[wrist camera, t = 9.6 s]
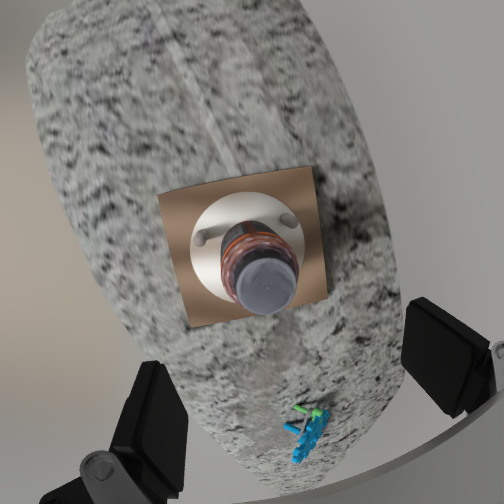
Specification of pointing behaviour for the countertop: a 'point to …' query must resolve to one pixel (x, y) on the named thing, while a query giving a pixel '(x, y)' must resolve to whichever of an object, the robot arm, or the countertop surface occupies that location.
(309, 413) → the gear
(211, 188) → the pin board
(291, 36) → the countertop surface
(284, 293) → the supplement bottle
